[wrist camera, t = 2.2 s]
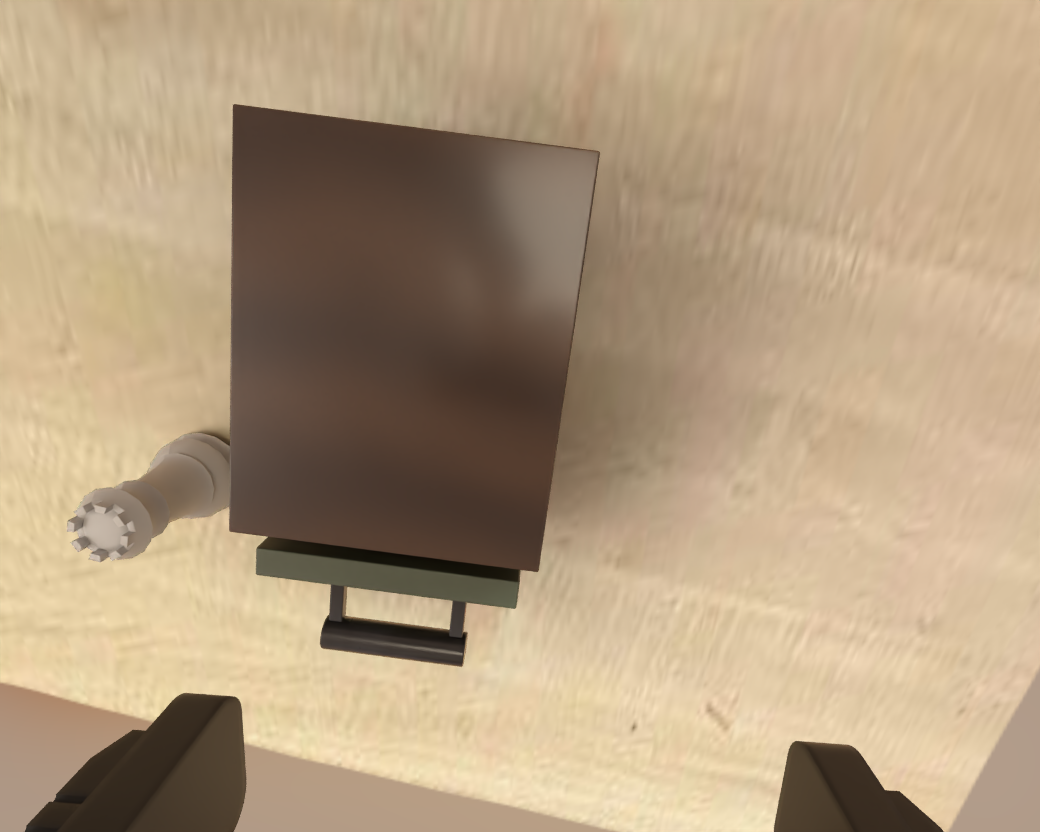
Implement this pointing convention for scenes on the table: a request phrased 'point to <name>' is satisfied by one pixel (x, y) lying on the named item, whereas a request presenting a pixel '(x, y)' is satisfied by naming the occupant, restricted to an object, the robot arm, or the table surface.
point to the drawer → (394, 577)
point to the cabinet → (400, 333)
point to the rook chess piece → (155, 498)
